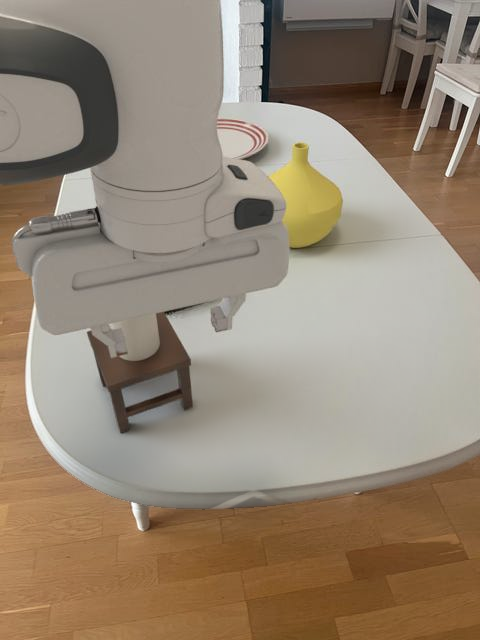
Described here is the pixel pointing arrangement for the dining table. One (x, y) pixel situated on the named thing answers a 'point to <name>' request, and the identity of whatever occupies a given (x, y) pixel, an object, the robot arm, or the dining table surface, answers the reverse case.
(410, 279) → the dining table surface
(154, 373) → the brown wooden stool
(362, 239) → the dining table surface
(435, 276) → the dining table surface
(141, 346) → the bottle
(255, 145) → the dinner plate
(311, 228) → the vase
